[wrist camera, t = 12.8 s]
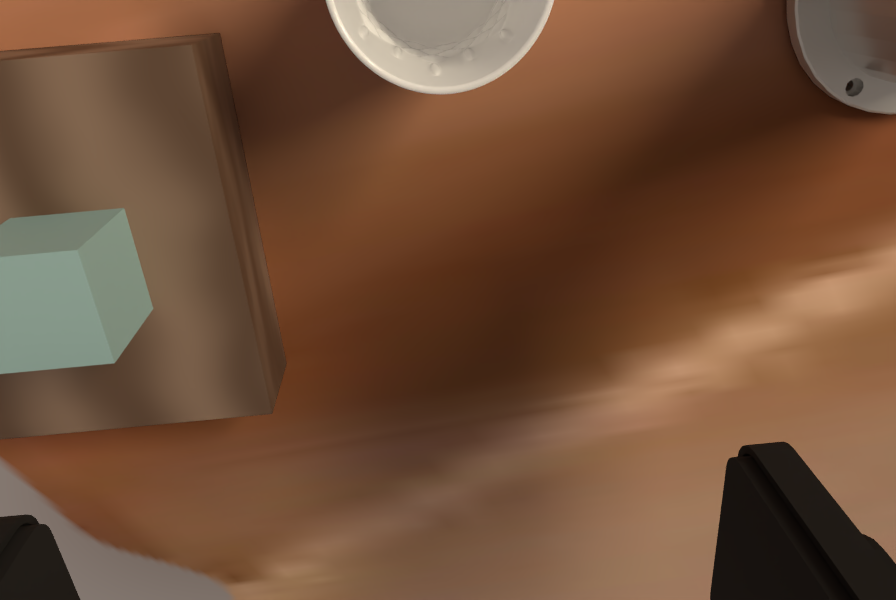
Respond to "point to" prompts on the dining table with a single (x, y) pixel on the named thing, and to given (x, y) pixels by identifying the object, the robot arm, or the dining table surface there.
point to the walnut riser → (145, 229)
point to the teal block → (68, 290)
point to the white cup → (439, 39)
